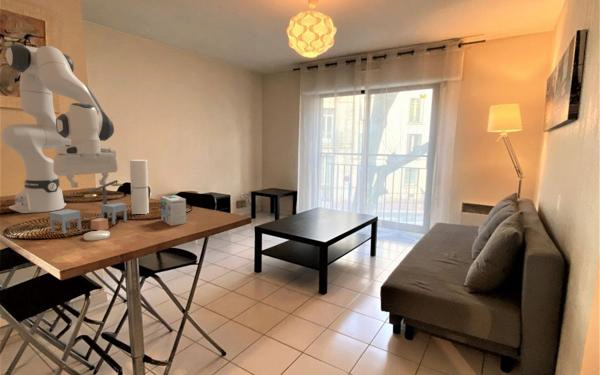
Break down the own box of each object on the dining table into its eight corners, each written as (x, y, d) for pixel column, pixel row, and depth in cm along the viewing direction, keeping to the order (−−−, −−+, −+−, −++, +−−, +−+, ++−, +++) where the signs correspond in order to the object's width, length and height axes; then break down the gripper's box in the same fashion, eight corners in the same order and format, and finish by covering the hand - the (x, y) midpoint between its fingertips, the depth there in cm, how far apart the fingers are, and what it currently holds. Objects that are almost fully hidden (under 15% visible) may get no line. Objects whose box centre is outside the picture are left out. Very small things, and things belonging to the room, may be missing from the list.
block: (91, 230, 119) (90, 220, 119) (100, 227, 123) (100, 217, 122) (99, 231, 118) (98, 221, 117) (108, 229, 122) (108, 219, 121)
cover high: (101, 222, 129) (100, 205, 128) (115, 219, 135) (114, 202, 134) (113, 224, 127) (112, 206, 126) (126, 220, 133) (126, 203, 132)
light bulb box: (160, 220, 137) (160, 196, 135) (176, 218, 141) (175, 194, 140) (171, 226, 129) (170, 200, 128) (186, 223, 134) (186, 198, 132)
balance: (81, 222, 128) (79, 183, 125) (117, 213, 144) (115, 179, 141) (92, 224, 126) (90, 185, 124) (127, 215, 142) (126, 180, 140)
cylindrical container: (141, 215, 143) (140, 161, 139) (128, 214, 144) (126, 160, 140) (152, 212, 150) (150, 160, 146) (139, 210, 151) (137, 159, 147)
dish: (77, 238, 109) (77, 235, 109) (98, 232, 117) (98, 229, 117) (95, 241, 107) (95, 238, 107) (115, 235, 114) (115, 232, 114)
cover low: (68, 228, 120) (67, 209, 119) (81, 230, 118) (80, 211, 117) (51, 232, 114) (49, 212, 113) (63, 235, 112) (62, 214, 111)
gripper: (111, 148, 125) (113, 182, 127) (49, 148, 107) (53, 188, 109) (119, 148, 121) (121, 184, 123) (57, 149, 104) (60, 190, 106)
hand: (89, 186), depth 116 cm, fingers open, 8 cm apart
